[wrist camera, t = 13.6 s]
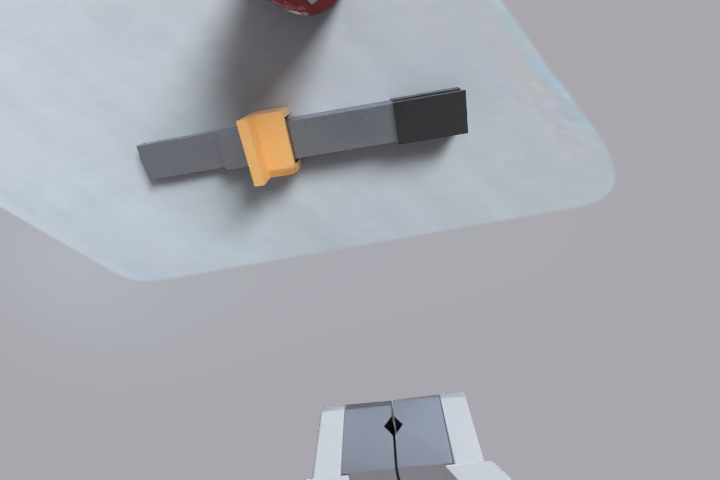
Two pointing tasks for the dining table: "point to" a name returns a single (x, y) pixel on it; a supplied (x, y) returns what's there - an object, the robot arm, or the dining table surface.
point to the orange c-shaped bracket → (267, 144)
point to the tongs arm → (364, 127)
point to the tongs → (207, 148)
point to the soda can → (304, 6)
